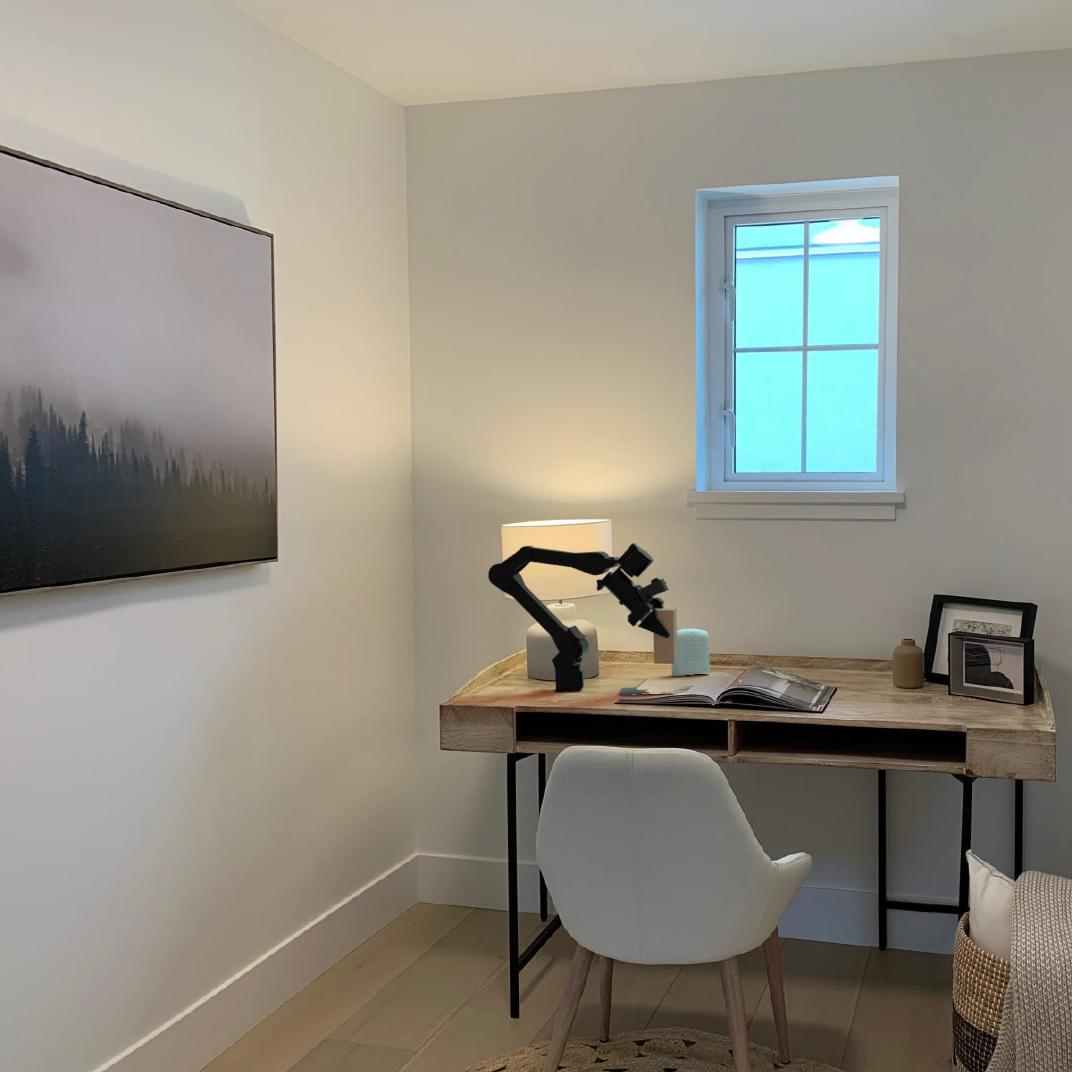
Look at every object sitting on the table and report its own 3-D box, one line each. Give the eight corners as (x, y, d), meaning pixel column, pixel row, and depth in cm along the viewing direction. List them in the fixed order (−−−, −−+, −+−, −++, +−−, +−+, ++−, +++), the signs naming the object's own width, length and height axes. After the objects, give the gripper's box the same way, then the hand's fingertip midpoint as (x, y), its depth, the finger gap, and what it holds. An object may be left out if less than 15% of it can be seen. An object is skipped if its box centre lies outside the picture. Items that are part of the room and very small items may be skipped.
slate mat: (619, 695, 288) (619, 693, 288) (622, 689, 297) (622, 687, 297) (673, 694, 286) (673, 692, 286) (674, 688, 295) (674, 686, 295)
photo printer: (707, 673, 320) (705, 627, 320) (712, 675, 316) (710, 628, 316) (670, 675, 319) (668, 629, 319) (674, 677, 315) (672, 630, 314)
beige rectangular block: (654, 663, 291) (652, 610, 291) (657, 661, 296) (656, 608, 296) (674, 663, 290) (673, 610, 289) (677, 661, 294) (676, 608, 294)
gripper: (639, 569, 284) (686, 616, 281) (655, 565, 302) (699, 608, 299) (608, 602, 287) (654, 648, 284) (625, 596, 305) (669, 640, 302)
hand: (670, 635), depth 292 cm, fingers closed on beige rectangular block, 5 cm apart
